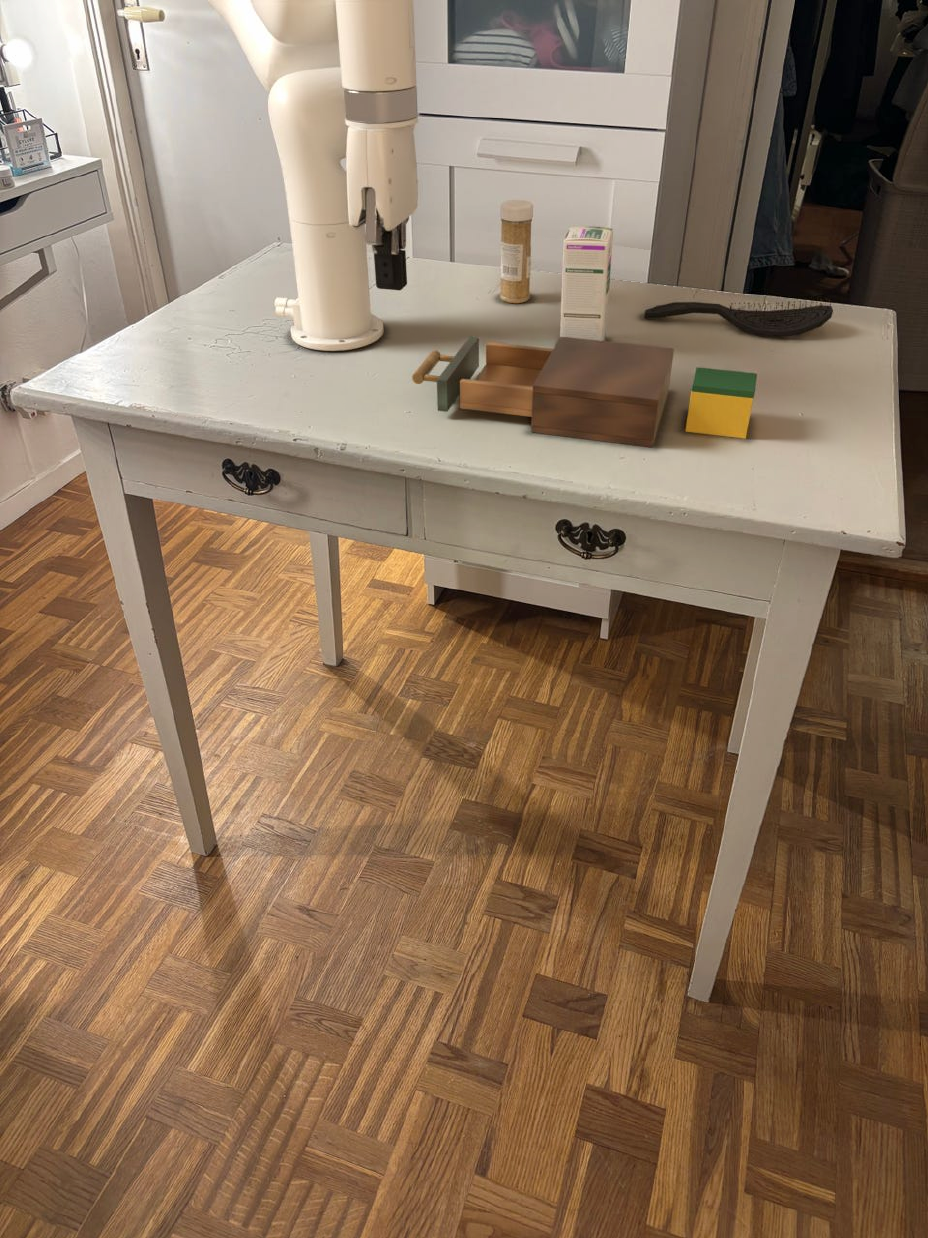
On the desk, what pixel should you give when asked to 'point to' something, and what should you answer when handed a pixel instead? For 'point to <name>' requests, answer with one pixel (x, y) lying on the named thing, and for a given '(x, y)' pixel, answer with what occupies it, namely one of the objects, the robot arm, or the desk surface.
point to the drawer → (487, 377)
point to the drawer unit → (602, 391)
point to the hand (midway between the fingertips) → (391, 286)
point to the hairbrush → (754, 317)
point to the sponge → (721, 402)
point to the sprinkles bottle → (515, 250)
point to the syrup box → (586, 282)
